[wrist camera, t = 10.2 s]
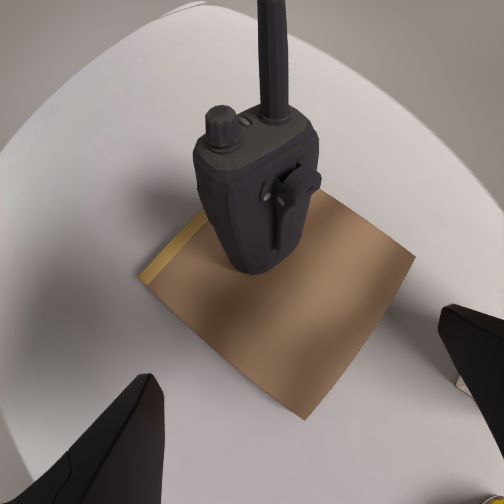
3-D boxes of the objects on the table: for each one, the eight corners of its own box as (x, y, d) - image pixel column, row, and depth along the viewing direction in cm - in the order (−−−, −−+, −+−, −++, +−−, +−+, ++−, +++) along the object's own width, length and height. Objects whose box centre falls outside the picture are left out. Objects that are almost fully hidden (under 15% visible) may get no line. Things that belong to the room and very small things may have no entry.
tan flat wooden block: (404, 266, 19) (416, 256, 18) (301, 415, 16) (304, 420, 14) (261, 168, 24) (260, 153, 22) (149, 285, 20) (138, 276, 18)
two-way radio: (280, 204, 20) (281, -23, 6) (325, 250, 18) (400, 15, 4) (215, 252, 19) (119, 24, 5) (258, 304, 17) (204, 63, 3)
